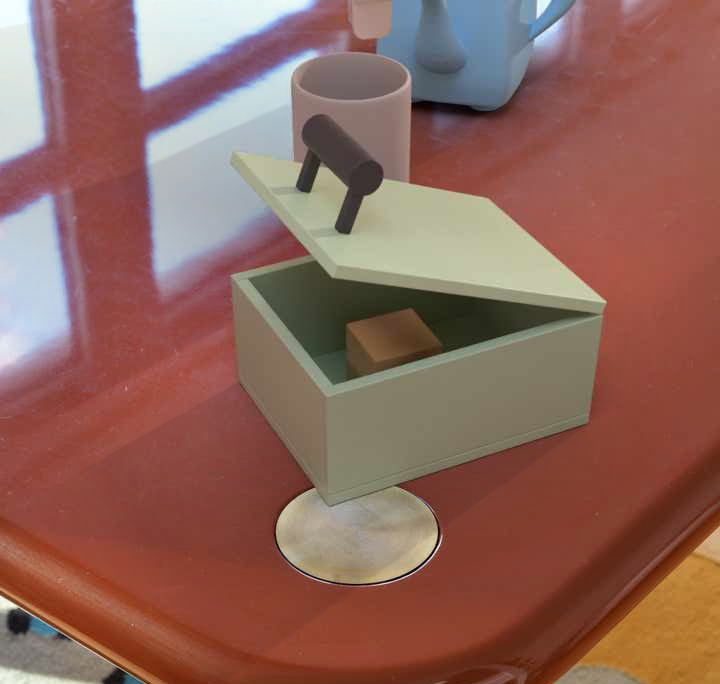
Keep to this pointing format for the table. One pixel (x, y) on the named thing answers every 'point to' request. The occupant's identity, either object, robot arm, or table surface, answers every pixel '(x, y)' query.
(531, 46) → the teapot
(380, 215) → the green box lid
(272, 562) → the table surface
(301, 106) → the mug
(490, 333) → the green hinged box
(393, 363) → the block
